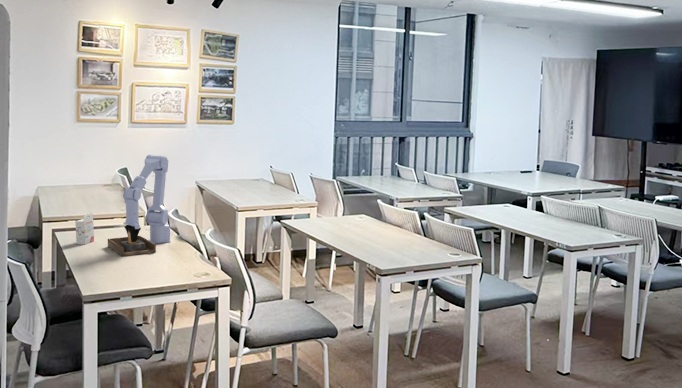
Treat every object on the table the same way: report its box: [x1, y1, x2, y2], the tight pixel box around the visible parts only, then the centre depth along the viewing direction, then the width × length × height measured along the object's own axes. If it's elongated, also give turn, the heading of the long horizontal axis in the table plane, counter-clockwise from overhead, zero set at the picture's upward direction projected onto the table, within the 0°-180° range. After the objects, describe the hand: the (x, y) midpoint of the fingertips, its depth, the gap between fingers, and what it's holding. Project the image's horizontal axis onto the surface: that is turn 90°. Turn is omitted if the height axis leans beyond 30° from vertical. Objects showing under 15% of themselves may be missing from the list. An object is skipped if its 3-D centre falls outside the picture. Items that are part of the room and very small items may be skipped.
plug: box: [127, 230, 137, 244], centre depth 328 cm, size 4×4×8 cm
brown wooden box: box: [107, 235, 157, 257], centre depth 330 cm, size 16×22×4 cm
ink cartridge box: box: [75, 212, 95, 246], centre depth 341 cm, size 9×5×15 cm, turn 168°
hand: (132, 241), depth 328 cm, fingers closed on plug, 3 cm apart
